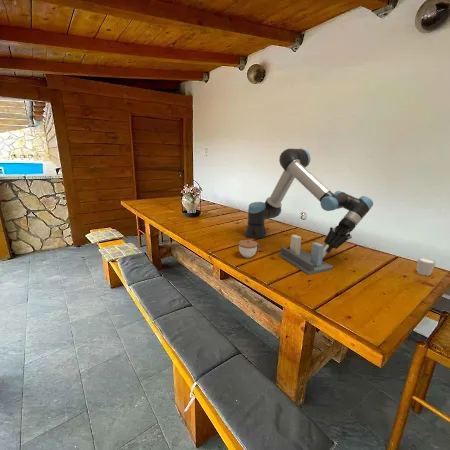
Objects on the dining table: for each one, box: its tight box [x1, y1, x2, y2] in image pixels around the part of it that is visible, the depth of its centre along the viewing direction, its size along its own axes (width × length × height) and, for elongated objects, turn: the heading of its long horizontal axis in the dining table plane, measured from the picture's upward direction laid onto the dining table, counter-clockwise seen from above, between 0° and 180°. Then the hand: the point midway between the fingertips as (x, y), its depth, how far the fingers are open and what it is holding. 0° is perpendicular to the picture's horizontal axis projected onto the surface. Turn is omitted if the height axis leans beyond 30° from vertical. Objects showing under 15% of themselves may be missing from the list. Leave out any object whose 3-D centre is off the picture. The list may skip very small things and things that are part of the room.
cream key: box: [289, 234, 302, 255], centre depth 137 cm, size 5×3×11 cm, turn 22°
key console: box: [278, 246, 334, 275], centre depth 132 cm, size 25×16×5 cm, turn 22°
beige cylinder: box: [416, 257, 437, 277], centre depth 122 cm, size 7×7×7 cm
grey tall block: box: [310, 241, 325, 266], centre depth 125 cm, size 5×3×11 cm, turn 22°
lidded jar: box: [238, 239, 258, 259], centre depth 139 cm, size 11×11×9 cm
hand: (321, 255), depth 126 cm, fingers closed
